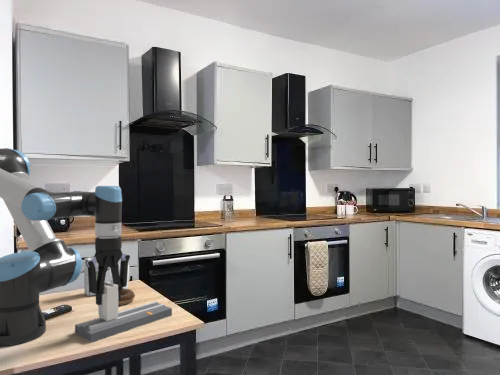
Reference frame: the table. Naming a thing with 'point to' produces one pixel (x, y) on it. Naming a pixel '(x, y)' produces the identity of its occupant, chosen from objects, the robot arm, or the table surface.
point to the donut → (126, 296)
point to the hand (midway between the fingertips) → (108, 312)
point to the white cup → (119, 275)
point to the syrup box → (87, 277)
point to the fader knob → (110, 301)
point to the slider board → (122, 321)
